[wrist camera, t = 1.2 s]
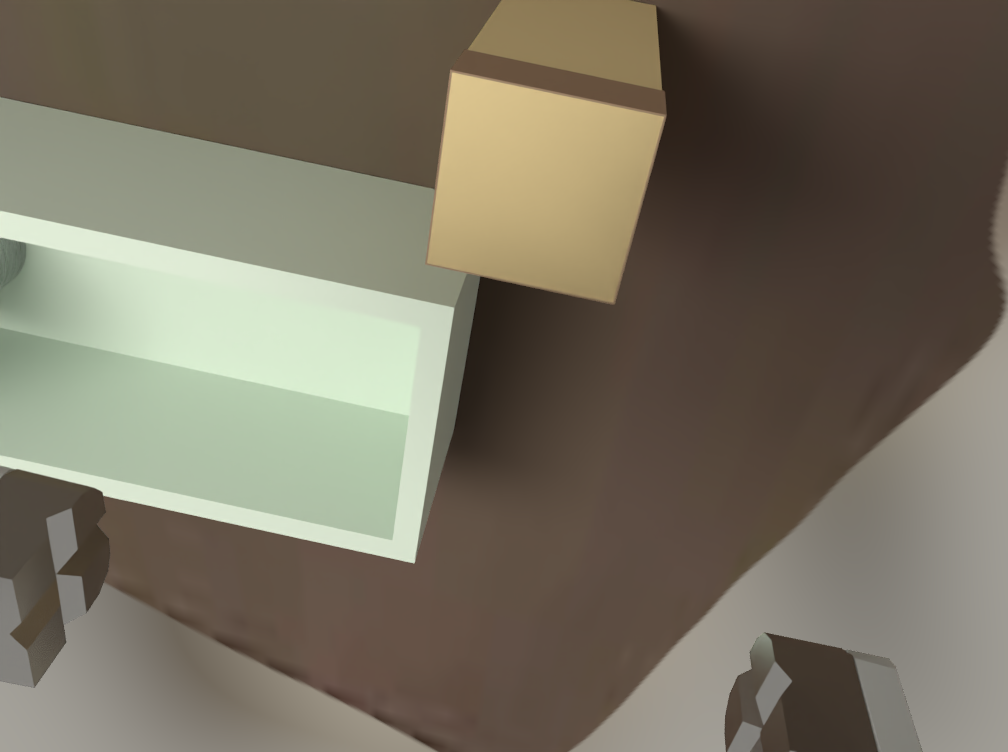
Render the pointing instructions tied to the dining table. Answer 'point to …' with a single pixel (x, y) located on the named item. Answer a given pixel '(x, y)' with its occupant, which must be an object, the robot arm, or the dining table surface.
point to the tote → (226, 331)
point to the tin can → (11, 260)
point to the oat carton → (549, 145)
